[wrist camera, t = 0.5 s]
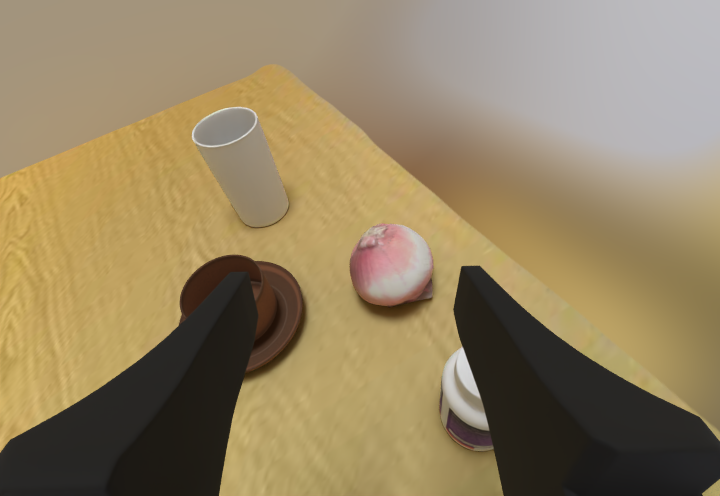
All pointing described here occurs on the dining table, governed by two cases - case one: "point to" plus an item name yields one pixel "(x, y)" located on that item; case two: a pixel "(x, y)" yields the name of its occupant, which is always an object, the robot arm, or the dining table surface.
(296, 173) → the dining table surface
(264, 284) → the cup and saucer
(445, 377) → the pill bottle
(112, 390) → the robot arm
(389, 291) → the onion
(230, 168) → the mug
